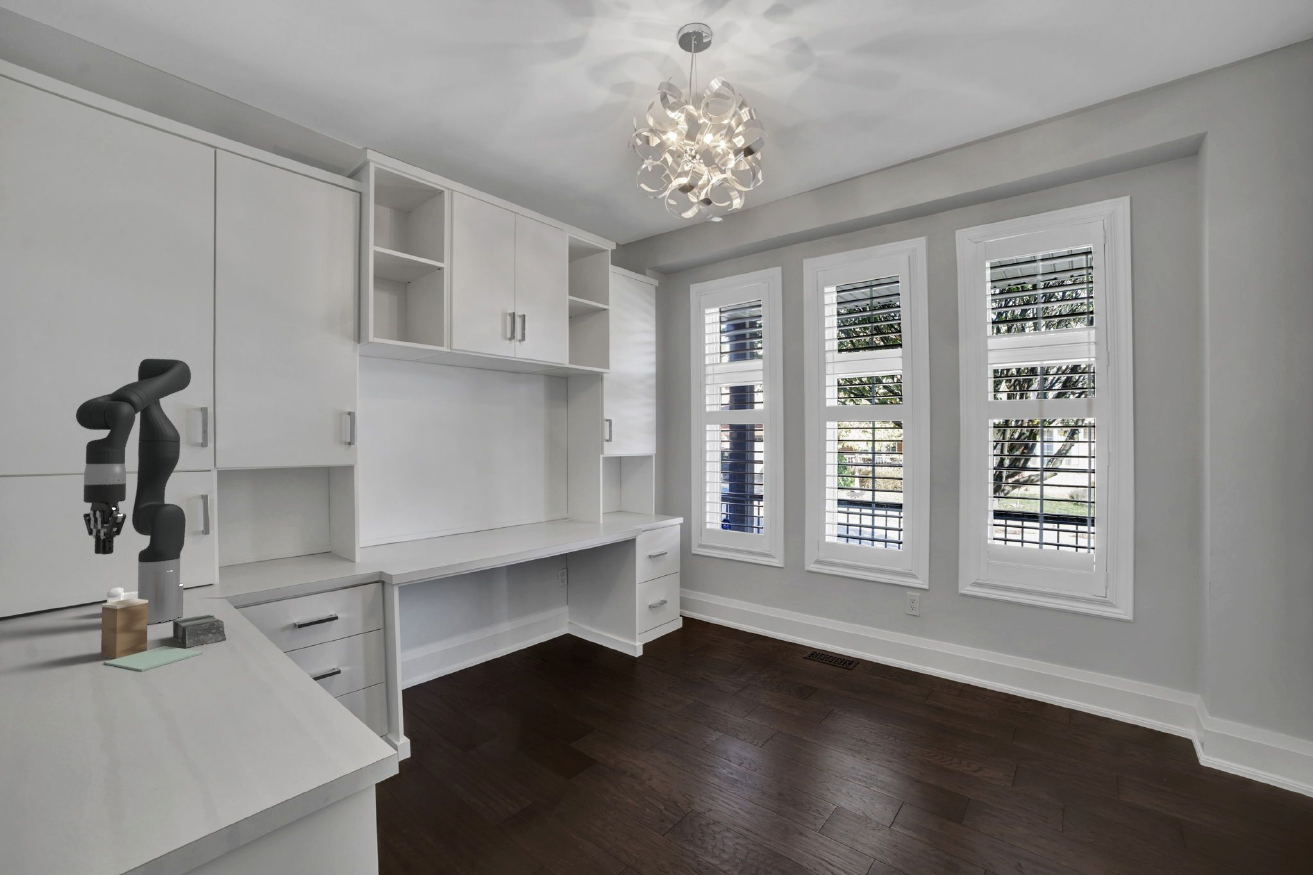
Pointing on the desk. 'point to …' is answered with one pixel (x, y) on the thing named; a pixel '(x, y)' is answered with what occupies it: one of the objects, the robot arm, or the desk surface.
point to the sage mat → (152, 658)
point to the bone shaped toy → (120, 595)
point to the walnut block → (124, 628)
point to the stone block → (198, 630)
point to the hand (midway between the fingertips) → (103, 553)
